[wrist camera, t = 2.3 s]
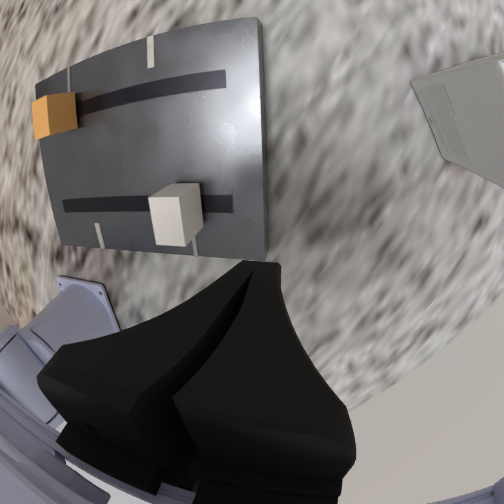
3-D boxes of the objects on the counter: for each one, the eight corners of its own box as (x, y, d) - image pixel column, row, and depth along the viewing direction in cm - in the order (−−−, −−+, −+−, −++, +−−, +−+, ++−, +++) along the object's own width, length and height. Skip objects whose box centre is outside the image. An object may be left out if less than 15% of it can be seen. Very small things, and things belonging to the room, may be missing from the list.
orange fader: (77, 128, 18) (49, 135, 15) (62, 132, 18) (35, 140, 15) (74, 92, 16) (46, 95, 14) (59, 98, 17) (31, 102, 14)
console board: (268, 250, 21) (264, 261, 20) (72, 237, 25) (61, 245, 24) (261, 24, 14) (256, 16, 12) (47, 83, 18) (34, 84, 17)
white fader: (203, 226, 19) (185, 246, 17) (177, 225, 20) (156, 244, 17) (199, 183, 18) (178, 196, 15) (171, 183, 18) (148, 197, 16)
